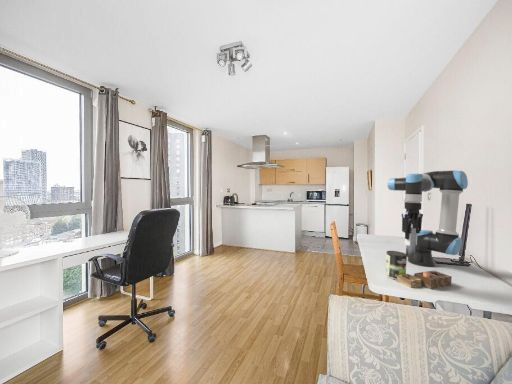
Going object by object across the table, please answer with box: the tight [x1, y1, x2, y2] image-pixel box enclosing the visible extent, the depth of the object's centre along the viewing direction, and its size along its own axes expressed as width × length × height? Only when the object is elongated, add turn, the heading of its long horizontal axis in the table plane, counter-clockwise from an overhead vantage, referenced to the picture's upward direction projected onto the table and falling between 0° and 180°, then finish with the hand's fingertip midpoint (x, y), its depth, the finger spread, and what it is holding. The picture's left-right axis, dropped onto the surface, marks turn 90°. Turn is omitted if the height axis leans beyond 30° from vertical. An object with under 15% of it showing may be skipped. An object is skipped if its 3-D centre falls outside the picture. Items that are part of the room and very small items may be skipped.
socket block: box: [413, 270, 453, 290], centre depth 125 cm, size 16×9×5 cm, turn 109°
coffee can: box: [385, 250, 408, 281], centre depth 134 cm, size 10×10×14 cm
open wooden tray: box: [396, 273, 422, 288], centre depth 125 cm, size 8×8×4 cm
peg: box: [405, 226, 416, 258], centre depth 124 cm, size 4×4×16 cm
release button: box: [422, 271, 430, 278], centre depth 123 cm, size 3×3×5 cm
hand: (410, 244), depth 124 cm, fingers closed on peg, 4 cm apart
